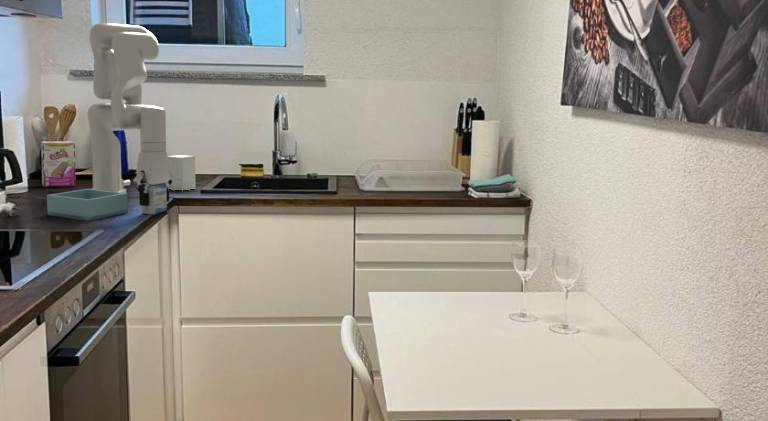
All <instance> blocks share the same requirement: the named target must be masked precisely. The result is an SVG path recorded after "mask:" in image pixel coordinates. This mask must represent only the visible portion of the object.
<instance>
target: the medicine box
mask: <svg viewBox="0 0 768 421" xmlns="http://www.w3.org/2000/svg"><path fill="white" fill-rule="evenodd" d="M143 187H144V188H145V186H143ZM147 193H149V206H143V205H141V213H142V214H144V215H153V216H155V215H158V214H161V213H164V212H166V211H167V210H168V206H167V205H168V204H167V203H168V202H167V188H166V184H157V185H150V187H149V189H148V191H147Z"/></svg>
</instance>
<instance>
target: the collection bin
mask: <svg viewBox="0 0 768 421" xmlns="http://www.w3.org/2000/svg"><path fill="white" fill-rule="evenodd" d="M128 198H129V196H128V192H126V193H120V192H112V191H103V190H94V189H93V188H85V189H84V188H83V189H77V190H70V191H64V192H59V193H51V194H46V208H47V216H52V217H58V218H66V219H75V220H82V221H88V222H89V221H93V220H99V219H104V218H108V217H114V216H118V215H124V214H128V213H129V204H128V203H129V202H128V201H129V200H128Z"/></svg>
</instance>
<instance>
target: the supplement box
mask: <svg viewBox="0 0 768 421" xmlns="http://www.w3.org/2000/svg"><path fill="white" fill-rule="evenodd" d="M167 156H168V155H167ZM168 162H169V171H170V172H171V173H172V174H174V176H173V179H172V183H171V185H170V189H171V190H170V191H175V190H182V191H181V192H184V191H183V190H189V191H191V190H190V189H195V190H196V156H195V155H184V154H183V155H182V154H176V155H175V154H174V155H170V156H168Z"/></svg>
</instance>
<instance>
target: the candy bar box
mask: <svg viewBox="0 0 768 421" xmlns="http://www.w3.org/2000/svg"><path fill="white" fill-rule="evenodd" d="M40 143H41V144H40V151H41V154H40V155H41V156H40V157H41V182H42V184H41V185H42V187H44V188H47V187H48V188H50V187H51V188H53V187H55V188H56V187H76V180H77V179H76V145H75V144H76V143H75V142H74V141H70V140H69V141H66V140H65V141H50V140H48V141H40Z"/></svg>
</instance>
